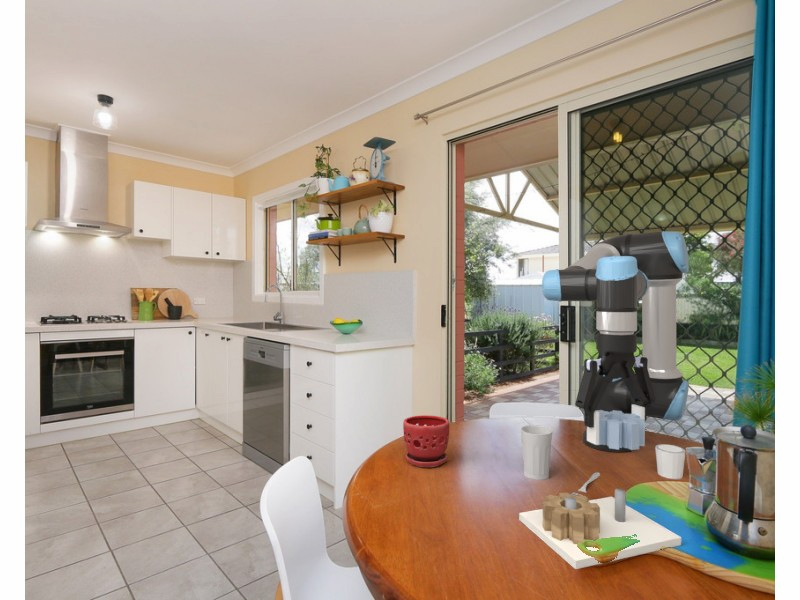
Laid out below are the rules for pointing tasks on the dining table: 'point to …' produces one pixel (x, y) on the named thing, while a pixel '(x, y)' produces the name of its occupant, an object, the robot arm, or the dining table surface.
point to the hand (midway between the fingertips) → (615, 439)
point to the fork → (587, 484)
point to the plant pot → (426, 440)
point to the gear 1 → (571, 518)
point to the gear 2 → (621, 430)
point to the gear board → (606, 530)
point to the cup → (536, 451)
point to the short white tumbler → (670, 461)
